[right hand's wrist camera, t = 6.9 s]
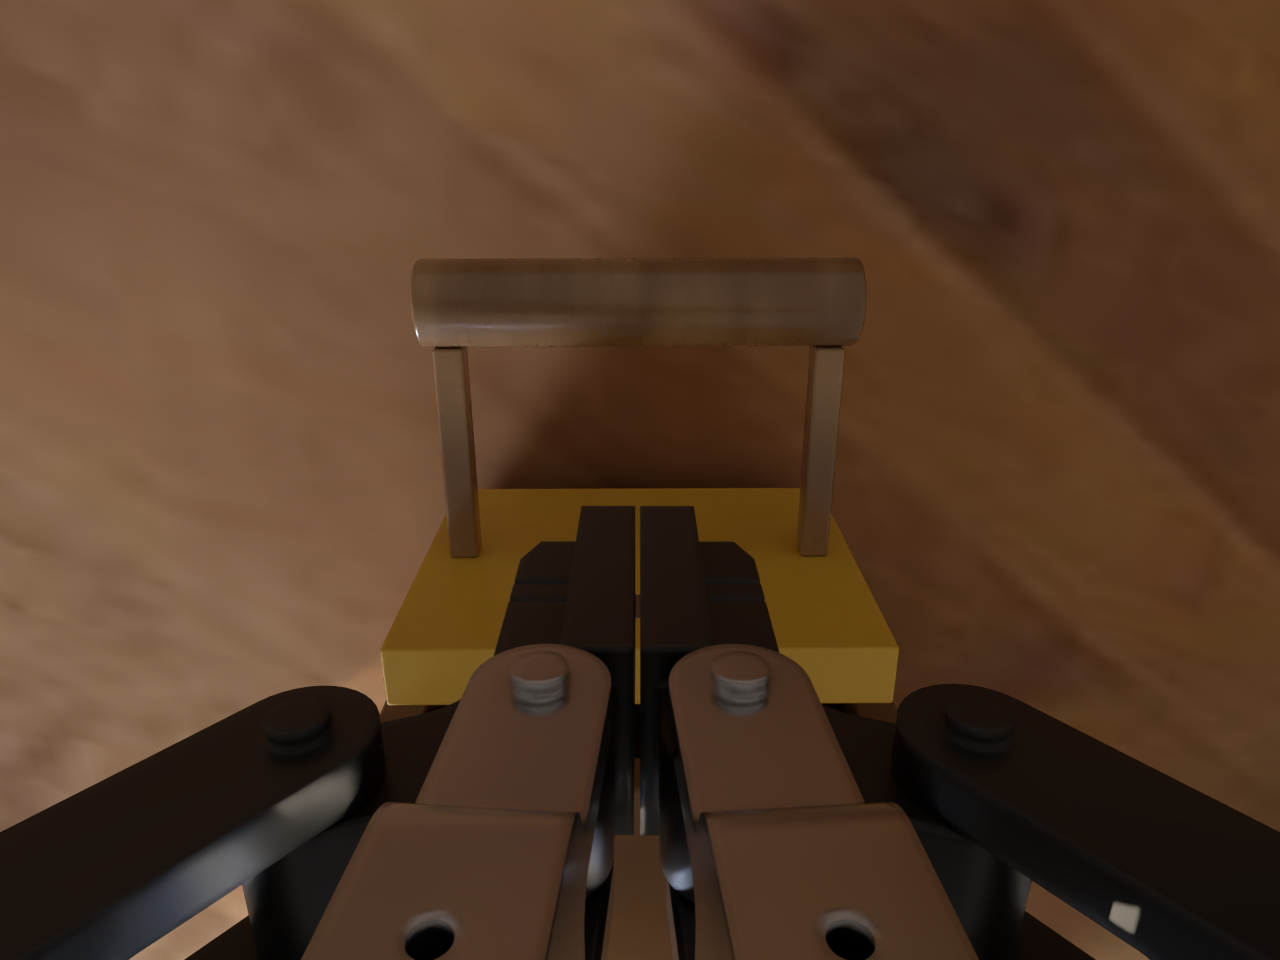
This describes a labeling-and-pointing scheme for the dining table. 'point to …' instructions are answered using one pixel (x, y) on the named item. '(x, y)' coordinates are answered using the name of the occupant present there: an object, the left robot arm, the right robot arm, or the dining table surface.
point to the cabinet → (645, 861)
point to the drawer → (751, 517)
